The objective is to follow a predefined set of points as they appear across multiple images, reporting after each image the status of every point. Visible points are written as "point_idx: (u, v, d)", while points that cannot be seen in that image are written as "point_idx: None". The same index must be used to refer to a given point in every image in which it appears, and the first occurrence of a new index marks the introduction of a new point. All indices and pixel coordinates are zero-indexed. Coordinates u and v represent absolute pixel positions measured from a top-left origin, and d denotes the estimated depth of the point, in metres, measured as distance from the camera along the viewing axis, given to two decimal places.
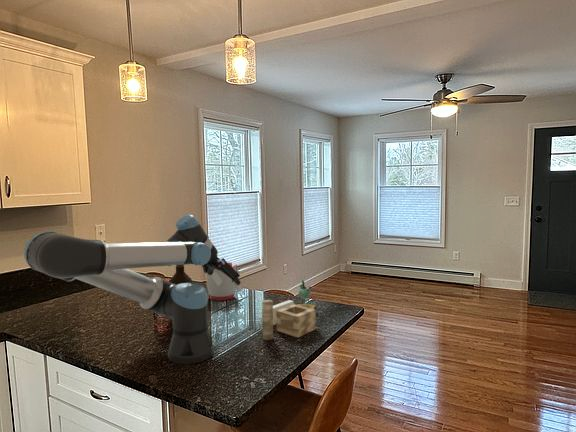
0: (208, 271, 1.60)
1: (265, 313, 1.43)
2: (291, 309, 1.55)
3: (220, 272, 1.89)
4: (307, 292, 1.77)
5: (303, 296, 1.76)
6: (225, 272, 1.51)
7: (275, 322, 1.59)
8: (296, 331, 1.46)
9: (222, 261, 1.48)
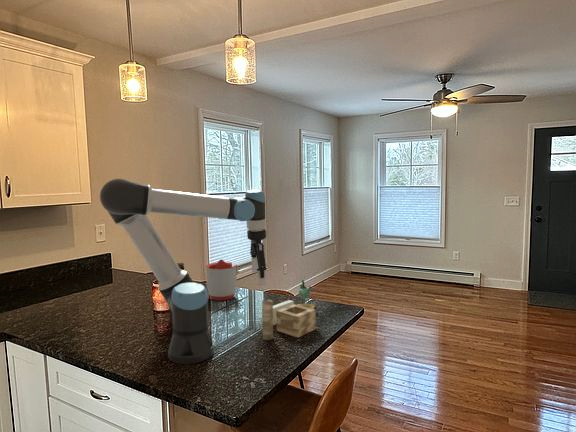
0: (251, 253, 1.63)
1: (265, 313, 1.43)
2: (291, 309, 1.55)
3: (220, 272, 1.89)
4: (307, 292, 1.77)
5: (303, 296, 1.76)
6: (257, 258, 1.51)
7: (275, 322, 1.59)
8: (296, 331, 1.46)
9: (260, 246, 1.49)
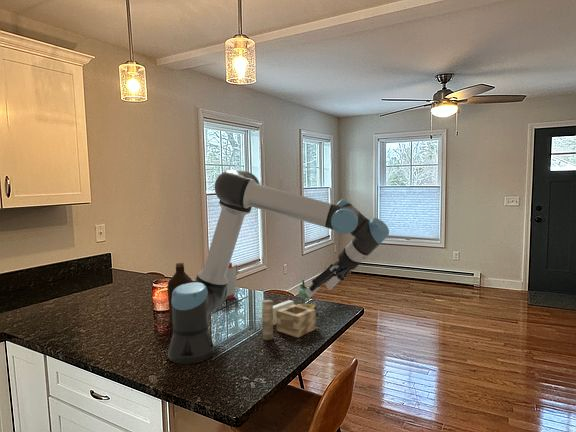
0: None
1: (265, 313, 1.43)
2: (291, 309, 1.55)
3: None
4: None
5: (303, 296, 1.76)
6: None
7: (275, 322, 1.59)
8: (296, 331, 1.46)
9: (332, 267, 1.31)
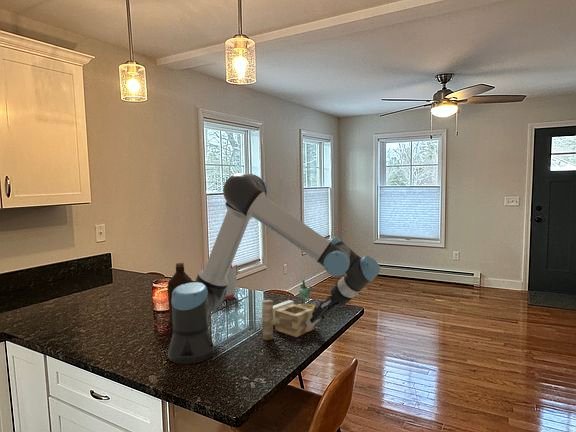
0: None
1: (265, 313, 1.43)
2: (290, 309, 1.56)
3: None
4: (308, 292, 1.77)
5: (304, 296, 1.76)
6: None
7: None
8: (294, 330, 1.46)
9: (322, 306, 1.36)
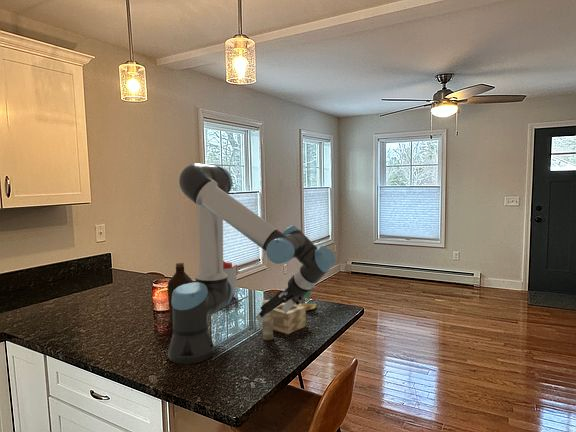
0: None
1: None
2: None
3: None
4: (308, 291, 1.77)
5: (304, 295, 1.77)
6: None
7: None
8: (286, 328, 1.49)
9: (281, 294, 1.30)
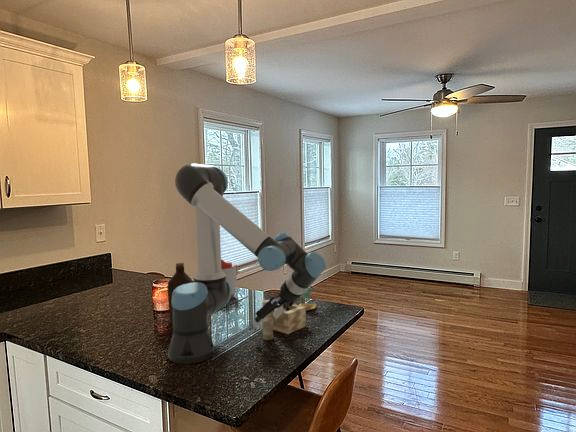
0: None
1: None
2: None
3: None
4: (308, 292, 1.77)
5: (304, 295, 1.77)
6: None
7: None
8: (286, 328, 1.49)
9: (272, 301, 1.34)
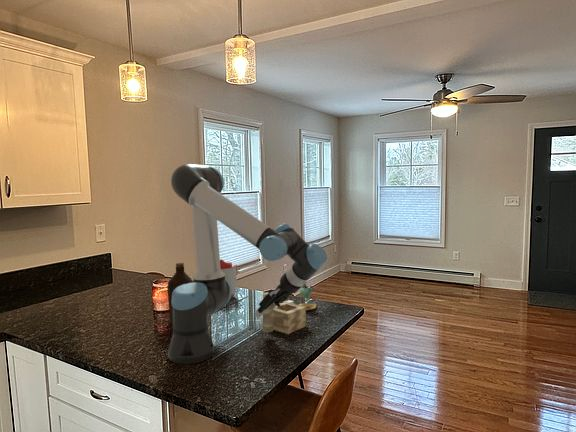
0: None
1: None
2: (282, 306, 1.59)
3: None
4: (309, 291, 1.77)
5: (305, 295, 1.77)
6: None
7: None
8: (286, 328, 1.49)
9: (270, 294, 1.34)
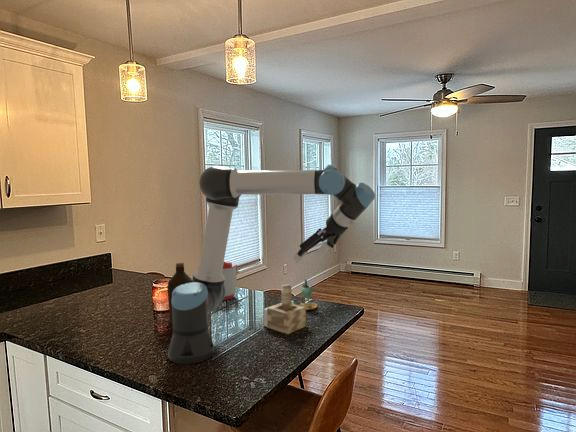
0: None
1: (284, 296, 1.53)
2: None
3: None
4: (310, 291, 1.78)
5: (306, 295, 1.78)
6: None
7: None
8: (286, 328, 1.49)
9: (320, 232, 1.34)
